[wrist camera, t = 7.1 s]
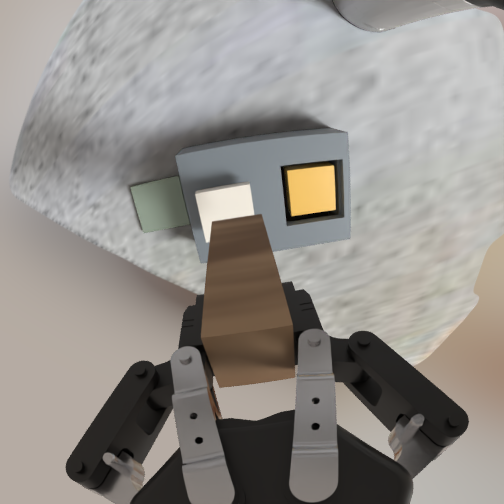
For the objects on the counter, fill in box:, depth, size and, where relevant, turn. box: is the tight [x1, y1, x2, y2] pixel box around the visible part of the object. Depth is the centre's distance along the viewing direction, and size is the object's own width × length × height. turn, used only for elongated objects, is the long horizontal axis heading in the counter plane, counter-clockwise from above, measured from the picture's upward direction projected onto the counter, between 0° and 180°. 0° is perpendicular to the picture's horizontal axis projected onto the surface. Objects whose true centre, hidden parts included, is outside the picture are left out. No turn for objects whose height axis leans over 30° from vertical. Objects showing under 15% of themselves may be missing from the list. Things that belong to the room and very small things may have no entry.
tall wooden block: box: [201, 214, 295, 388], centre depth 16 cm, size 4×4×11 cm
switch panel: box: [175, 128, 351, 263], centre depth 31 cm, size 12×17×5 cm
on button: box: [195, 182, 254, 243], centre depth 28 cm, size 5×5×4 cm
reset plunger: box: [284, 162, 336, 216], centre depth 30 cm, size 5×5×2 cm
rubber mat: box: [131, 176, 190, 233], centre depth 33 cm, size 6×6×1 cm
